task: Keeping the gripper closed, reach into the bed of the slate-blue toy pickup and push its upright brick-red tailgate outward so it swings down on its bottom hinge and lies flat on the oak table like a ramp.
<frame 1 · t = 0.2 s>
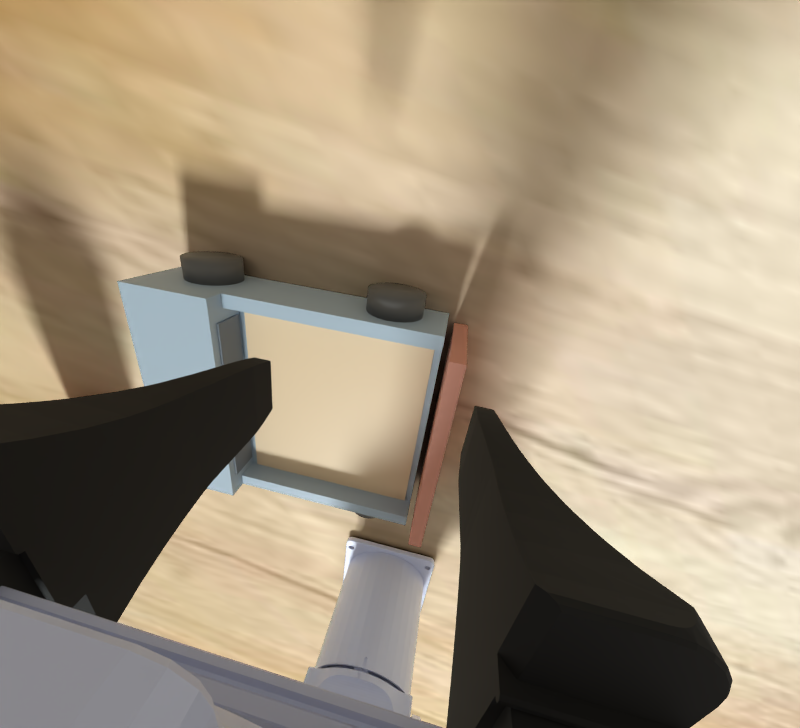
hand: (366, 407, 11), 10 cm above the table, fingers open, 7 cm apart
tailgate: (437, 437, 20), point 3 cm above the table, hinge at 0.0°
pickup: (345, 391, 24), on the table
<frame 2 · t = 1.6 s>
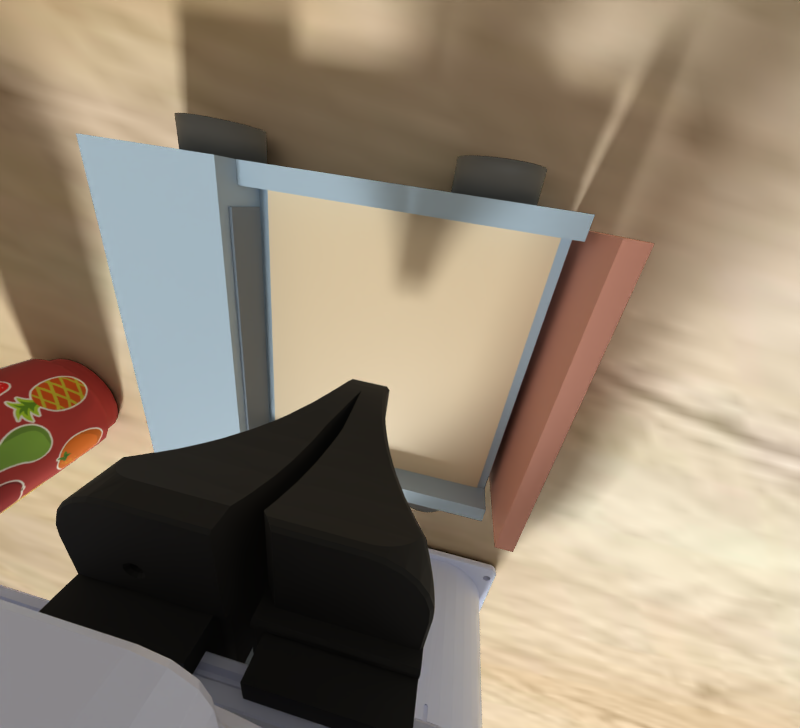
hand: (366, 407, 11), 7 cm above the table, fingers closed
tailgate: (540, 394, 14), point 3 cm above the table, hinge at 0.0°
smoothie: (86, 392, 24), on the table
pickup: (398, 339, 17), on the table
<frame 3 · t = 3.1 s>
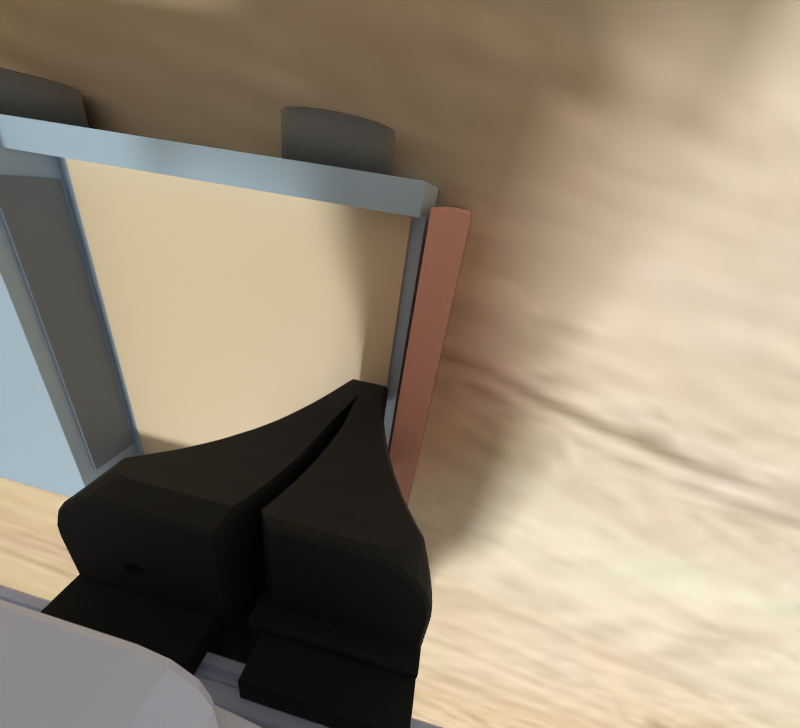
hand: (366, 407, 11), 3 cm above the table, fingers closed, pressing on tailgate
tailgate: (416, 408, 12), point 3 cm above the table, hinge at 0.0°, touching gripper
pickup: (277, 341, 15), on the table
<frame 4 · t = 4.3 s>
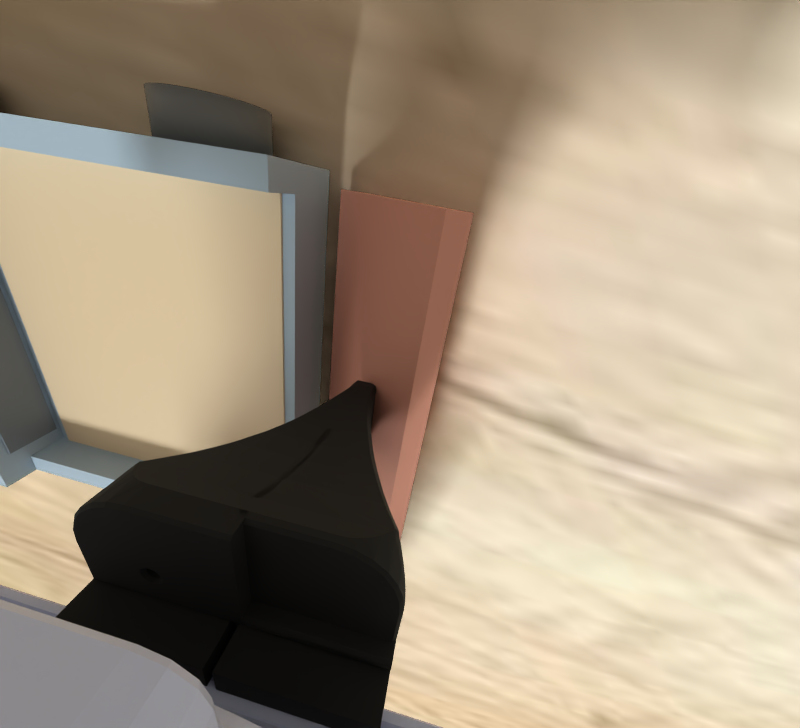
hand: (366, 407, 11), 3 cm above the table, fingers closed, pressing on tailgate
tailgate: (370, 396, 12), point 2 cm above the table, hinge at 43.4°, touching gripper
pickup: (196, 326, 15), on the table
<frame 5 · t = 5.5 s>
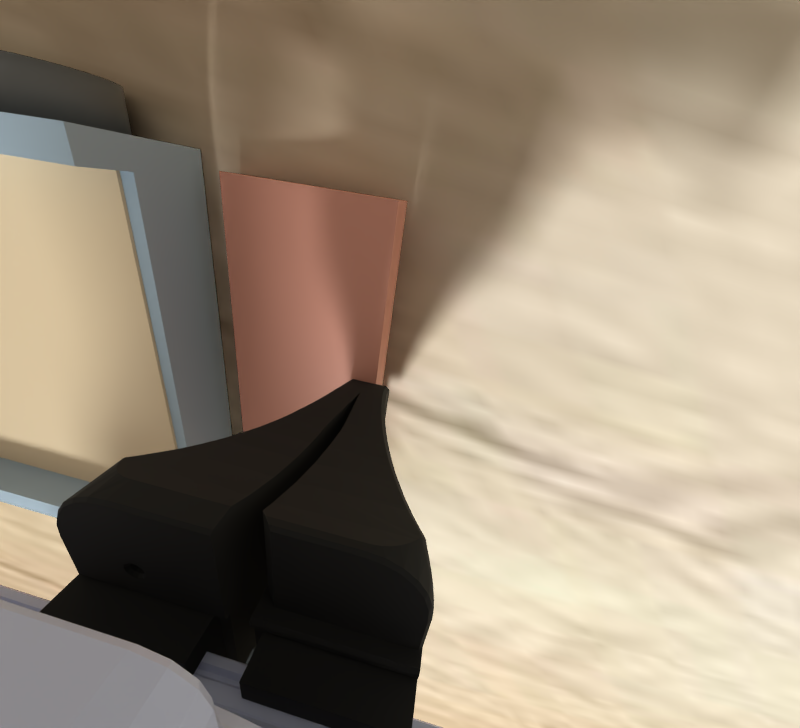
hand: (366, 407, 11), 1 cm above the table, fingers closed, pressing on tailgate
tailgate: (307, 382, 12), point 1 cm above the table, hinge at 83.2°, touching gripper
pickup: (91, 324, 14), on the table
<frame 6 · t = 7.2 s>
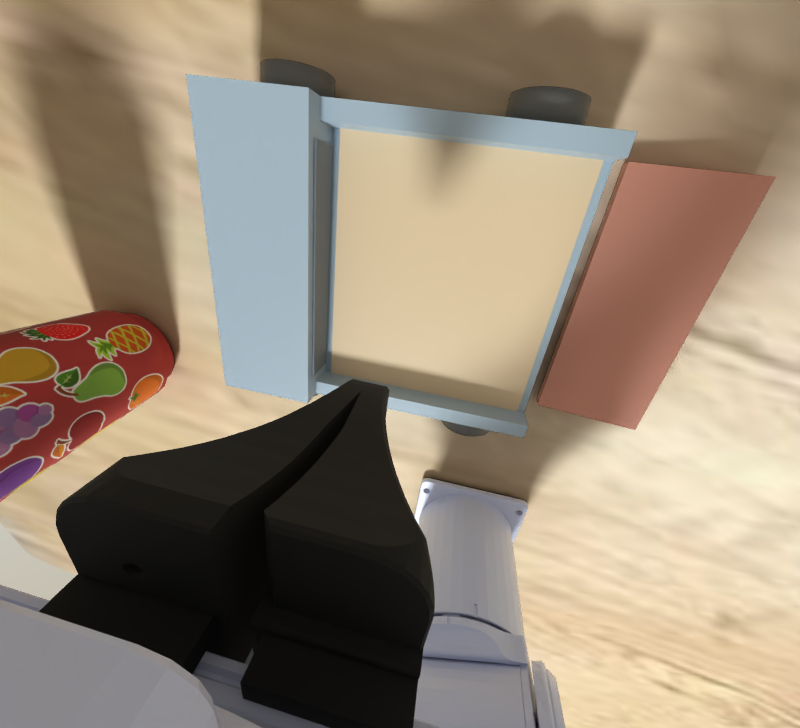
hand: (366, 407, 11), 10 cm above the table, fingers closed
tailgate: (630, 311, 17), point 1 cm above the table, hinge at 83.2°
smoothie: (144, 347, 26), on the table
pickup: (443, 277, 19), on the table
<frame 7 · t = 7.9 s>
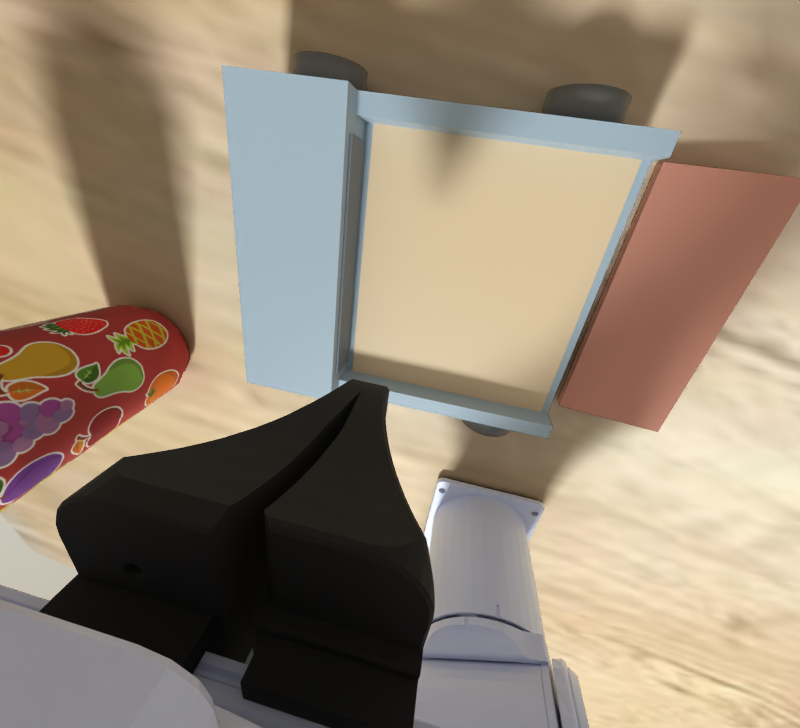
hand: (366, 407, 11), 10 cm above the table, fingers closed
tailgate: (657, 313, 17), point 1 cm above the table, hinge at 83.2°
smoothie: (158, 342, 26), on the table
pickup: (468, 276, 19), on the table
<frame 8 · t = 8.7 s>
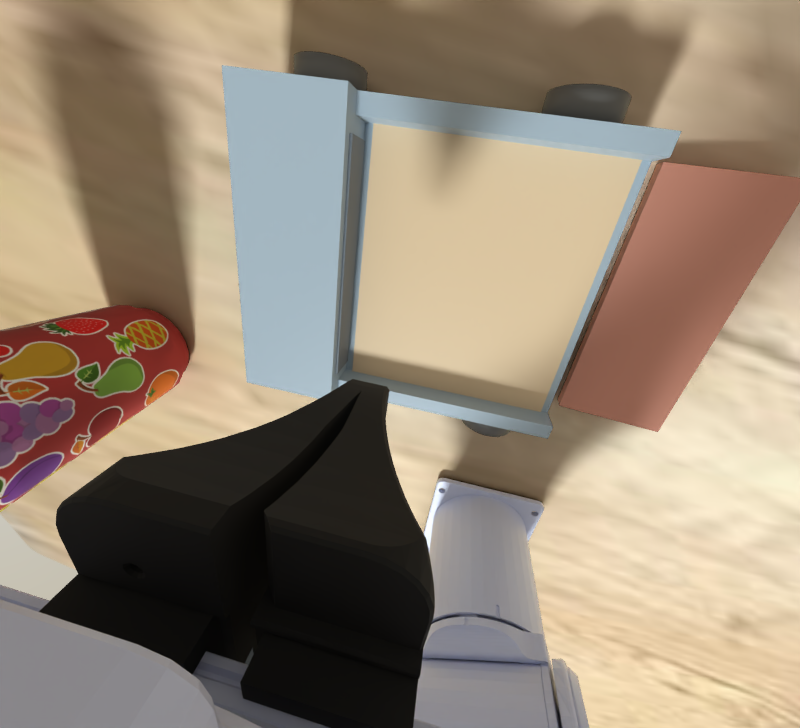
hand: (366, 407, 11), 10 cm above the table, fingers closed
tailgate: (657, 313, 17), point 1 cm above the table, hinge at 83.2°
smoothie: (158, 342, 26), on the table
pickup: (468, 276, 19), on the table
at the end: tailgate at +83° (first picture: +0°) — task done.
